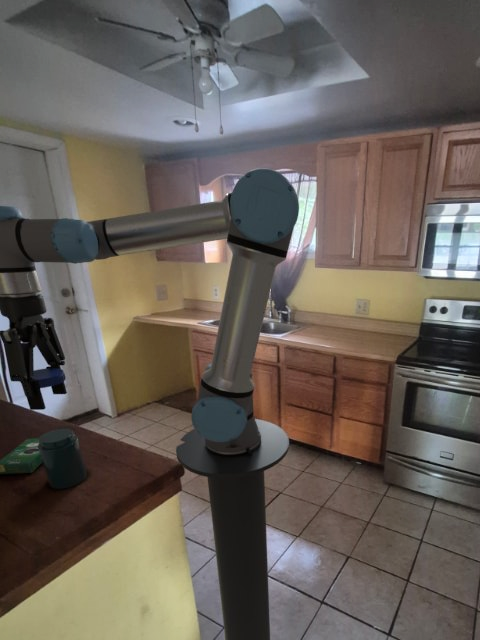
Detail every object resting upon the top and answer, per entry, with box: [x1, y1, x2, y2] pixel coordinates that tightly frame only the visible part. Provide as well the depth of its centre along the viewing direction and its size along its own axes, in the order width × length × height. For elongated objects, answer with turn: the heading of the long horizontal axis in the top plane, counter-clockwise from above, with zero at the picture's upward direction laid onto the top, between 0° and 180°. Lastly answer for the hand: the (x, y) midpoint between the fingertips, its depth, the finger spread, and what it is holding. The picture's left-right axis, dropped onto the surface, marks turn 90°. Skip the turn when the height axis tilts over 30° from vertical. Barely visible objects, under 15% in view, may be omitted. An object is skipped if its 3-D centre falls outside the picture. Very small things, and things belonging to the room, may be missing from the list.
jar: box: [38, 428, 88, 490], centre depth 84 cm, size 8×8×12 cm
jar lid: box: [34, 368, 66, 389], centre depth 79 cm, size 8×8×2 cm
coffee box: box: [0, 437, 43, 475], centre depth 93 cm, size 8×3×13 cm
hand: (49, 400), depth 82 cm, fingers closed on jar lid, 8 cm apart
